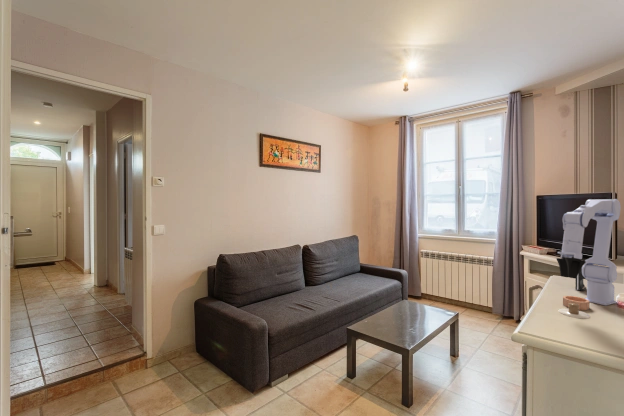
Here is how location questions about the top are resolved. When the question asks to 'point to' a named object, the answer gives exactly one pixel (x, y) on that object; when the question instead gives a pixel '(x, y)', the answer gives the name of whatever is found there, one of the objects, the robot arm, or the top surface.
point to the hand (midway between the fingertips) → (568, 277)
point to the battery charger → (580, 281)
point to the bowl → (576, 302)
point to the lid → (574, 311)
